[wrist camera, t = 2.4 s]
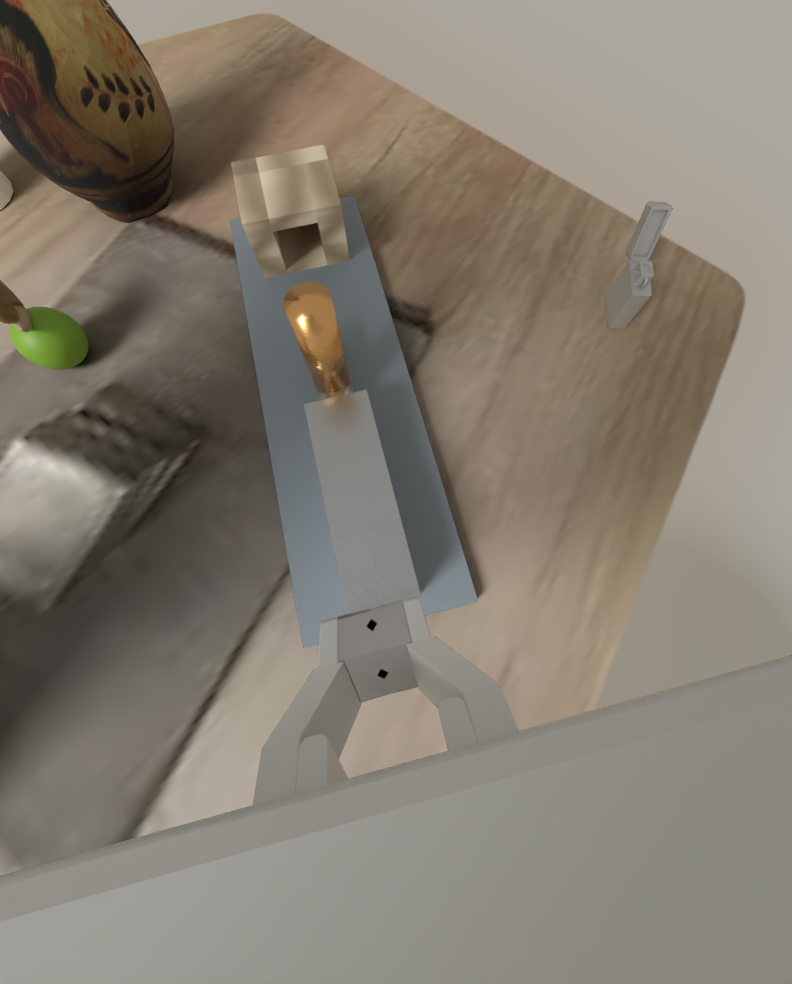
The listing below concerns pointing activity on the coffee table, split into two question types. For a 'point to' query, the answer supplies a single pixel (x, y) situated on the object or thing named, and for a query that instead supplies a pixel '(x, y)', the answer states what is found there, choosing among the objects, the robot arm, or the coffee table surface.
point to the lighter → (637, 268)
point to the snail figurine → (43, 333)
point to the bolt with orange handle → (319, 338)
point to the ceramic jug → (85, 104)
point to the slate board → (395, 416)
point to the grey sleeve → (360, 503)
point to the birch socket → (291, 210)
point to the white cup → (5, 190)
